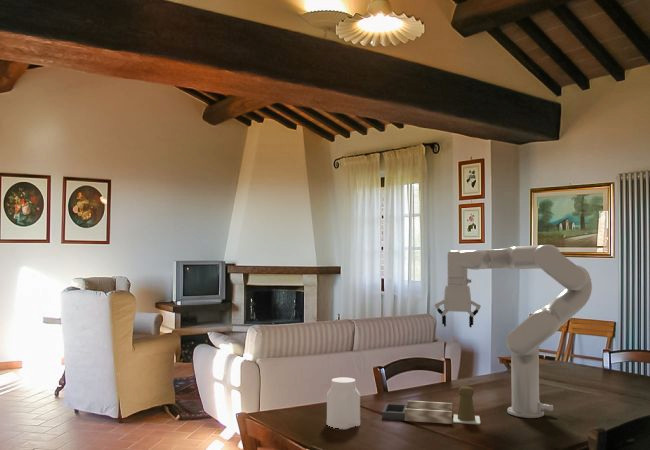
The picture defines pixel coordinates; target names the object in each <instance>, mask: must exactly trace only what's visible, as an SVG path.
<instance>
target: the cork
mask: <svg viewBox="0 0 650 450" xmlns="http://www.w3.org/2000/svg"><path fill="white" fill-rule="evenodd" d="M474 391H475V390H474V389H473V387H471V386H467V385H466V386H465V385H463V386H460V387H459V388H458V395H459V403H458V410H457V411H458V413H457V415H458V419H459V420H463V421H473V420H475V416H476V414H475V408H474V407H475V406H474V400H473V396H474V393H475V392H474Z"/></svg>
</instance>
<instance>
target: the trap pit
mask: <svg viewBox="0 0 650 450" xmlns="http://www.w3.org/2000/svg"><path fill="white" fill-rule="evenodd" d="M405 408H408V405H407V403H406V404H403V403H402V404H400V403H385V404H384V407H383V409H382V412H381V419H382V420H387V421H388V420H390V421H404V422H406V421H405Z"/></svg>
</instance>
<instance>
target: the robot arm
mask: <svg viewBox="0 0 650 450" xmlns="http://www.w3.org/2000/svg"><path fill="white" fill-rule="evenodd" d="M469 269H470V270H474V271H475V270H488V269H491V270H492V269H510V270H531V269H533V270H534V269H541V270H542V271H543V272H544V273H545V274H547V275H548V276H549V277H550V278H552V279H553V280H555V281H556V282H557V283H558V284H559V285H561V286H562V287H563V288H564V289H563V291H561V292H560V293H559V294H558V295H557V296H556V297H554V299H552V300H551V301H550V302H548V303H547V304H546V305H545V306H543V307H542V308H540V309H537V310H535V312H533V313H532V314H531V315H529V316H528V317H527V318H526V319H524V320H523V321H522V322H521V323H520V324H519V325H517V326H516V327H515V328H514V329H512V330H511V331H510V332H509V333H508V334H507V337H506V347H507V349H508V350H509V352H510V353H511V355H510V356H511V357H510V358H511V360H510V361H511V363H510V365H511V366H510V367H511V370H510V372H511V374H510V375H511V377H510V378H511V381H510V382H511V406H509V407H508V408H507V413H508V414H509V415H512V416H515V417H518V418H526V419H536V418H541V417H543V416H545V411H551V412H552V411H554V405H553V404H548V403H542V402H541V401H540V379H539V378H540V368H539V367H540V363H539V362H540V359H539V358H540V345H543V344H544V342H546V341H547V340H548V339H550V338H551V337H552V336H553V335H555V334H556V333H557V332H558V331H559V330H560V329H561V327H562V326H563V325H564V324H565V323H566V322H568V321H569V320H570V319H572V318H573V317H574V316H575V315H576V314H578V312H580V311H581V310H582V309H583V307H585V306H586V305H587V303H588V301H589V300H590V297H591V295H592V291H593V285H592V279H591V276H590V273H589V271H588V270H587V269H586V267H583V266H581V265H578V264H575V263H574V262H573V261H571V260H570V259H569V258H567V257H566V256H565V255H564V254H563V253H561V251H560V249H559V248H558V247H557V246H555V245H553V244H539V245H535V244H534V245H521V246H520V245H517V246H510V247H507V248H499V249H498V248H497V249H472V250H464V249H463V250H458V249H457V250H455V249H454V250H449V251H448V252H447V284H446V285H445V288H444V293H443V294H444V296H443V297H444V298H443V300H440V301H439V302H436V303H435V304H434V307H435V309H436V311H437V312H438V313H439V314H440V315H441V321H442V322H441V324H442V325H443V327H444V328H445V327H446V326H447V315H446V314H447V313H448V312H455V313H456V312H457V313H459V312H461V313H462V312H463V313H465V312H466V313H468V314H469V317H468V318H469V319H468V321H469V322H468V323H469V328H472V326H474V316H476V315H477V314H478V313H479V310H480V309H481V304H478V303H477V302H475V301H473V300H472V297H471V296H472V295H471V288H470V285H468V284H471V283H472V278H471V279H470V278H468V270H469ZM442 305H443V308H444V309H443V310H442V309H441V308H440V306H442ZM472 306H474V307H475V309H474V310H473V311H472Z"/></svg>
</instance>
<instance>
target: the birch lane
mask: <svg viewBox="0 0 650 450" xmlns="http://www.w3.org/2000/svg"><path fill="white" fill-rule="evenodd" d="M406 405H408V408H405V421H404V422H420V423H421V422H422V423H433V424H435V423H437V424H447V425H449V424H453V417H452V416H453V402H439V401H422V400H421V401H420V400H407V403H406Z"/></svg>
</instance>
